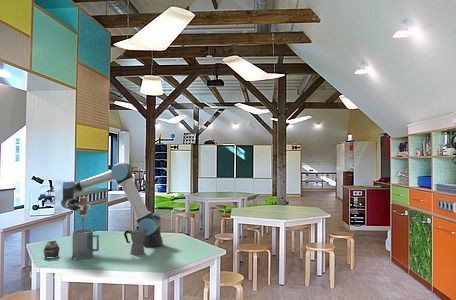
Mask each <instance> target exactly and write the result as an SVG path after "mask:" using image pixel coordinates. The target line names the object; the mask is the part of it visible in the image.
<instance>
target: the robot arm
mask: <svg viewBox="0 0 456 300" xmlns="http://www.w3.org/2000/svg"><path fill="white" fill-rule="evenodd" d="M133 172H134V171H133V167H132V166H131V165H130V164H129V163H126V162H121V163H119V162H118V163H116V164H114V165H113V166H112V167H111V170H109V171H106V172H103V173H101V174H98V175H94V176H92V177H89V178H86V179H82V180H80V181H76V182H75V181H74V180H65V181H63V182H62V186H61V187H62V199H61V200H60V205H61V207H62V208H63V209H66V210H69V211H73V212H74V211H75V212H76V211H78V210H79V211H80V210H83V206H82V205H80V199H76V198H75V194H79V193H82V192H84V191H86V190H90V189H93V188H96V187H99V186H101V185H104V184H108V183H110V182H111V183H112V182H113V181H116V183H117V185H118V186H120V187H121V189H122V190H123V192H124V194H125V196H126V198H127V200H128V202H129V204H130V207H131V208H132V210H133V213H134V214H135V216H136V218H135V220H136V223H137V226H138V227H139V229H141V230H146V231H148V232H147V233H146V234H145V236H144V240H143V246H144V248H145V247H146V248H157V247H162V246H163V245H164V240H163V237H162V234H161V223H162V222H161V220H162V217H161V213H152V211H149V210H148V208H147V206H146V204H145V202H144V201H143V198H142V195H141V194H140V191H138V188H137V186H136V184H135V182H134V175H133ZM86 210H90V211H91V203H88V202H86Z"/></svg>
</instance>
